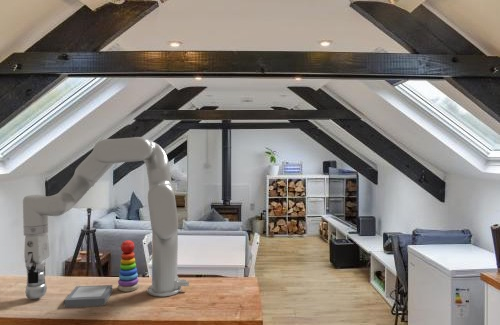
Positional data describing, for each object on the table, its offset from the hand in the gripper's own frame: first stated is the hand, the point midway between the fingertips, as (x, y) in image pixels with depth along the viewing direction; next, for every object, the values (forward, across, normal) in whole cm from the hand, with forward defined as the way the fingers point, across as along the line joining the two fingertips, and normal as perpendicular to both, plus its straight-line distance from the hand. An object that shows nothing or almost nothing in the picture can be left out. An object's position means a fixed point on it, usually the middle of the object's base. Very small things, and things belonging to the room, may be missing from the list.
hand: (36, 279), depth 133 cm
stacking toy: (+8, +7, -30) cm, 32 cm away
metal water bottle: (+7, 0, 0) cm, 7 cm away
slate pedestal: (+7, -2, -18) cm, 20 cm away
